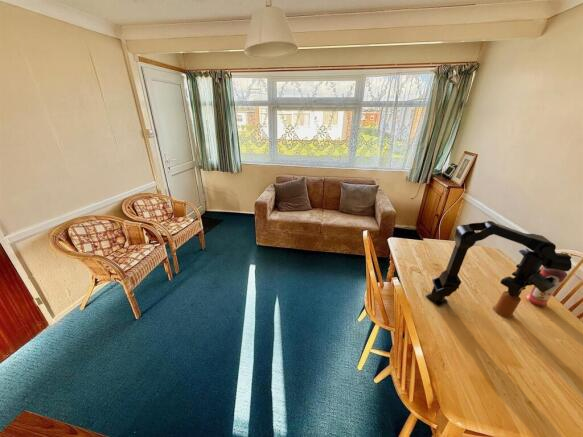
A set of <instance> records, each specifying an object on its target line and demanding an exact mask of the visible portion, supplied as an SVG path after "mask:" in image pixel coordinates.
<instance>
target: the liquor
mask: <svg viewBox="0 0 583 437" xmlns="http://www.w3.org/2000/svg"><path fill="white" fill-rule="evenodd" d="M560 254H568V255H569V256H571V254H570V253H569V252H566V251H561V252H560ZM541 274H542V275H543V276H546V277H550V276H552V277H553V278H555V279H556V280H555V282H554V283H555V286H554V287H553V288H551V289H549V290H547V291H545V292H541V291H539V289H538V288H536V287H535V286H534V285H533V287H532V288H531V291H530V293H529V294H528V295H526V298H527V300H528V301H529V302H530V303H531V304H532V305H534V306H536V307H537V306H538V307H546V306H548V301H549V300H550V299H551V298H552V296H553V294H554V293H555V292H556V291H557V290H558V288H560V286H561V284H562V283H563V282H564V281H565V279H566V278H567V277H568V272H567V271H559V270H552V269H546V268H544V267H543V266H542V269H541ZM554 283H553V284H554Z"/></svg>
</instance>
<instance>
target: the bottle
mask: <svg viewBox="0 0 583 437" xmlns="http://www.w3.org/2000/svg"><path fill="white" fill-rule="evenodd" d="M521 301H522V298H521V297H520V295H519V296H518V297H516V296H513V297H512V296H510V295H509V293H508V290H505V291H502V293H501V295H500V297H499V299H498V300H497V302H496V304H495V306H494V308H493V309H494V311H495V312H496V313H497V314H498V315H500V316H502V317H505V318H511V317H513V315H514V313H515V311H516V309H517V308H518V306H519V304H520V303H521Z"/></svg>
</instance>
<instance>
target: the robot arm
mask: <svg viewBox="0 0 583 437" xmlns="http://www.w3.org/2000/svg"><path fill="white" fill-rule="evenodd" d="M454 233H455V234H454V241H455V242H454V243H455V244H454V247H453V250H452V253H451V255H450V258H449V260H448V263H447V266H446V269H445V270H443V271H442V272H441V273H440V275H439V276H437V277H435V278H433V279H431V283H432V284H433V287H432V290H431V293H430V294H428V295H426V298H427V299H428V300H430V301H431V302H433V303H434V304H435V305H436V306H442V305H444V304H445V303H447V302H448V300H447V299H446V297H450V296H451V295H452V294H453V293H454V292H456V291H458V290H459V289H460V286H461V284H462V280H461V278H460V277H459V272H460V270H461V268H462V265H463V262H464V261H465V258H466V255H467V252H468V250H469V249H471V248H472V247H474V246H475V244H476V242H479V241H483V240H485V239H487V238H488V237H490V236H492V235H493V236H494V235H495V236H497V237H500V238H503V239H505V240H508V241H511V242H514V243H517V244H519V245H522V246H524V247H526V248H525V249H519V250H518V253H520V254H521V255H522V256H523V257H522V258H521V260H520V262H519V263H518V264H516V266H515V268H516V270H515V271H514V272H512V273H511V275H512V276H505V277H503V278H502V279H501V280H500V284H501V285H503V286H505V287H506V288H507V291H509V295H510V296H512V297H513V296H514V295H515V294H516V293H517V292H520V291H525V290H526V289H527V286H533V287H534V286H535V287H536V288H538V289H539V291H541V292H545V291H547V290H549V289H551V288H553V287H554V286H555V283H554V282H555V280H556V279H555V278H553V277H552V276H550V277H546V276H543V275H542V274H541V271H542V269H541V267H542V268H543V267H544V268H546V269H552V270H559V271H565V272H569V271H570V270H571V269H572V260H571V259H572V256H571V255H570V256H569V255H568V254H561V253H558V252H556V249H557V245H556V244H555V243H554V242H552V241H551V240H549V239H548V238H547V237H546V236H544V235H540V234H536V233H525V232H522V231H519V230H517V229H514V228H510V227H509V226H508V227H507V226H506V225H502V224H500V223H496V222H495V221H492V220H487V221H483V222H471V223H468V224H461V225H459V226H457V227H456V229H455V232H454ZM553 283H554V284H553Z"/></svg>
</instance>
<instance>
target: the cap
mask: <svg viewBox="0 0 583 437" xmlns="http://www.w3.org/2000/svg"><path fill="white" fill-rule="evenodd" d="M507 291H508V290H507ZM522 291H523V290H522ZM522 291H520V292H517V293H516V294H515V295H514V296H516V297H518V296H519V297H520V296H521V294H522ZM508 293H509V291H508Z"/></svg>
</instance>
